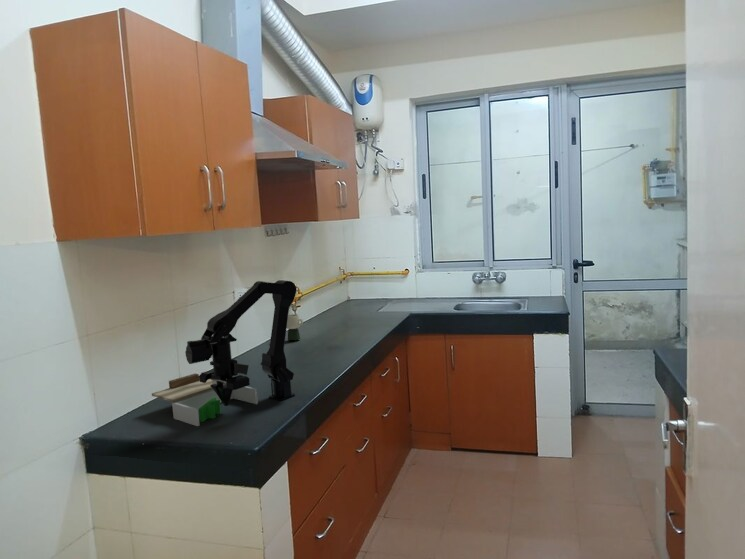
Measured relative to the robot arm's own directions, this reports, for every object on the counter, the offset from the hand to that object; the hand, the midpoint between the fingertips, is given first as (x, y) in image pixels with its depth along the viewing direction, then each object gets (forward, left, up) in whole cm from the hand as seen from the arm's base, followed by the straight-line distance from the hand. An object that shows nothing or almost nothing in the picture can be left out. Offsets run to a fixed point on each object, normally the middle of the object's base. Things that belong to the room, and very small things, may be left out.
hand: (226, 405), depth 168 cm
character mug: (+59, -83, -2) cm, 102 cm away
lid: (+16, +1, +3) cm, 16 cm away
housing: (+4, +1, -2) cm, 4 cm away
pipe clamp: (+2, +4, -2) cm, 5 cm away
